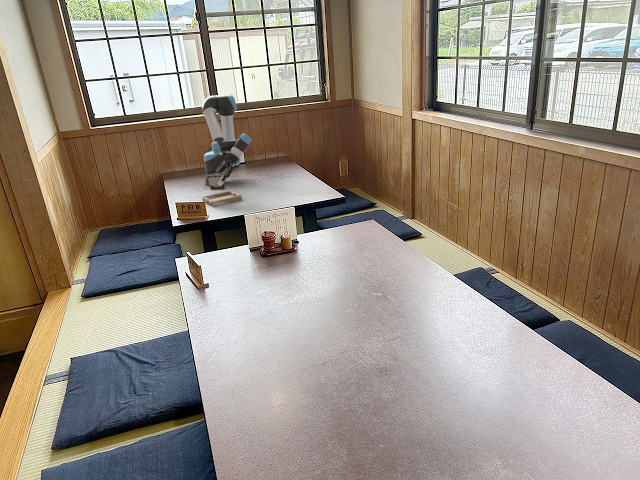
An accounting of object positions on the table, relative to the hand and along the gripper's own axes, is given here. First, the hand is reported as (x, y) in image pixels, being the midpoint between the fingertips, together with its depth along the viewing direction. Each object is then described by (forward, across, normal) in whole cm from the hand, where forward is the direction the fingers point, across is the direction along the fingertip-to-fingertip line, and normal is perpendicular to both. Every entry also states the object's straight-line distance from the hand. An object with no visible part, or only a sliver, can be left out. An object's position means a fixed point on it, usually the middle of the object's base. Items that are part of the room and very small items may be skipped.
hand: (215, 183), depth 311 cm
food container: (+1, +1, -5) cm, 5 cm away
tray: (+6, 0, -11) cm, 13 cm away
